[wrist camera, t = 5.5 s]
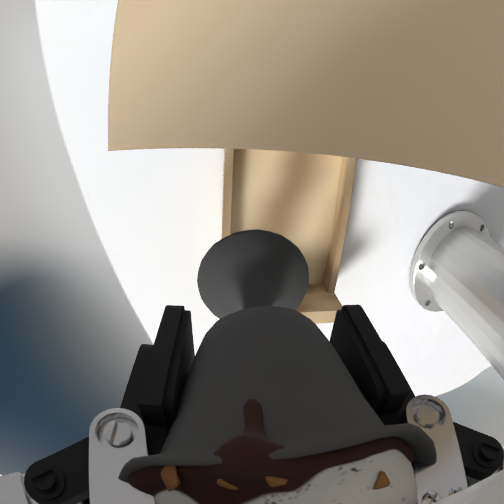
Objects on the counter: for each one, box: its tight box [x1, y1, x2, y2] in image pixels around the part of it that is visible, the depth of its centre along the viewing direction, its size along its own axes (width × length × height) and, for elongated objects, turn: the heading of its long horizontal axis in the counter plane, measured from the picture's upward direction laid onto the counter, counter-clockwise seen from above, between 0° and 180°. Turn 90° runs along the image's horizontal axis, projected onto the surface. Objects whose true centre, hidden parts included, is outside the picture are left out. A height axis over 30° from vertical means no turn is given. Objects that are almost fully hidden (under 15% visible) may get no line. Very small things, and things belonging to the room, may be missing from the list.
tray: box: [222, 148, 356, 323], centre depth 24 cm, size 10×14×5 cm
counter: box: [108, 0, 504, 187], centre depth 13 cm, size 15×9×20 cm, turn 87°
